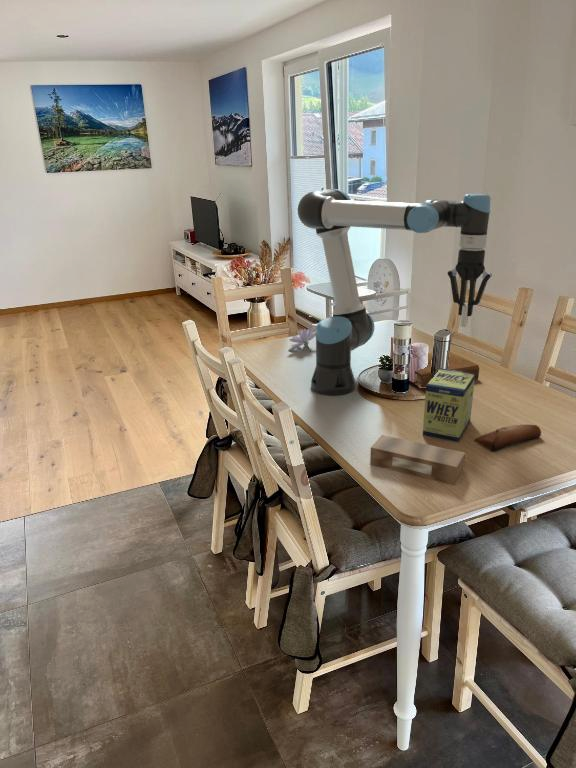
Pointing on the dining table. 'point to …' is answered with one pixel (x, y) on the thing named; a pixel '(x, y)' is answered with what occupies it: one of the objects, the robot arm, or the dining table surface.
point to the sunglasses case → (508, 436)
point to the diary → (454, 364)
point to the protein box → (448, 404)
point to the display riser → (418, 459)
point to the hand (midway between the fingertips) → (464, 325)
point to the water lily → (303, 338)
